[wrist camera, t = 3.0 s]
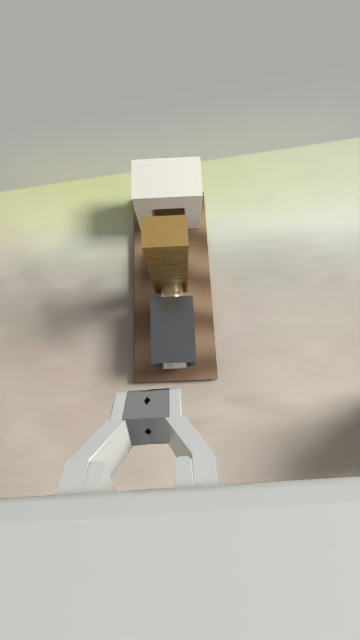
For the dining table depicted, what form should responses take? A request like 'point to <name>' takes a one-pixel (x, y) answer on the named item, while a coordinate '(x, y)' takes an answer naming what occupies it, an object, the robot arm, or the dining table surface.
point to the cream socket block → (167, 187)
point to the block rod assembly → (166, 257)
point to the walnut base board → (195, 287)
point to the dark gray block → (172, 330)
